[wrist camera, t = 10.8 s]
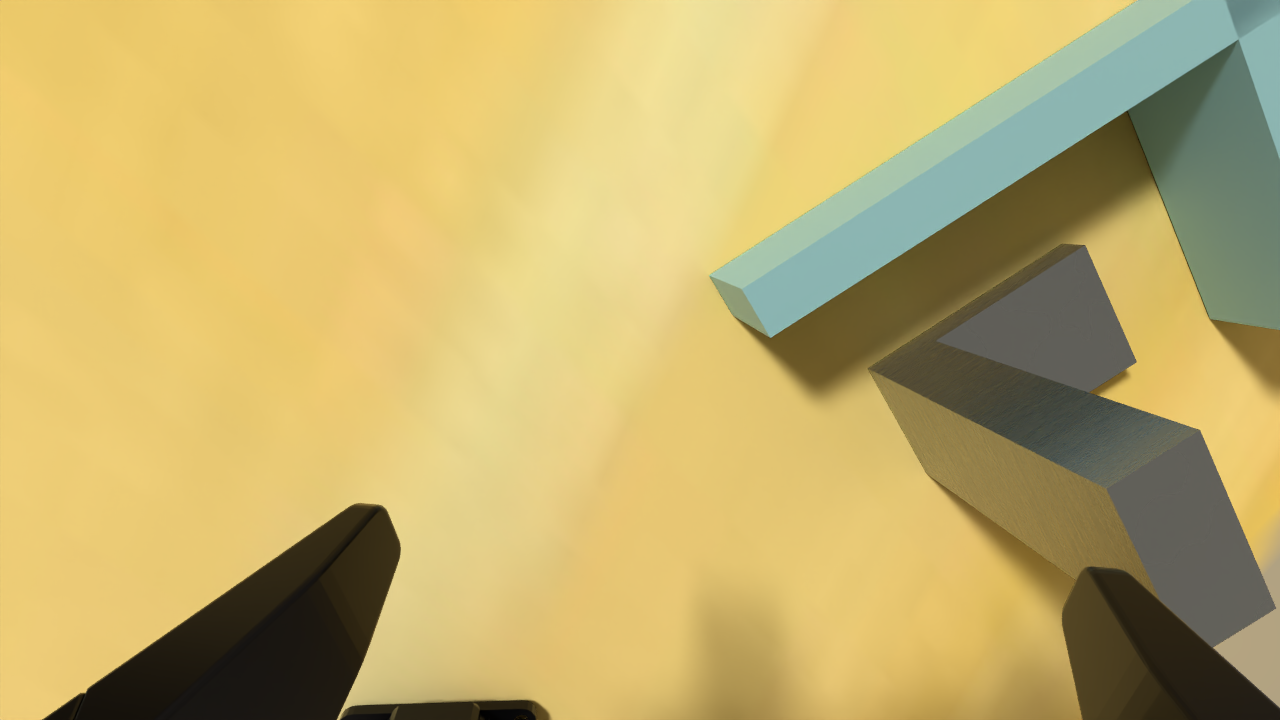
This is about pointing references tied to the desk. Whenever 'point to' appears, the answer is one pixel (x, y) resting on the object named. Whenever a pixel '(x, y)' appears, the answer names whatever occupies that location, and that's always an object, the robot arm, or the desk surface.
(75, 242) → the desk surface
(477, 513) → the desk surface
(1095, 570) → the robot arm
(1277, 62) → the teal corner wall
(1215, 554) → the grey l-shaped block
